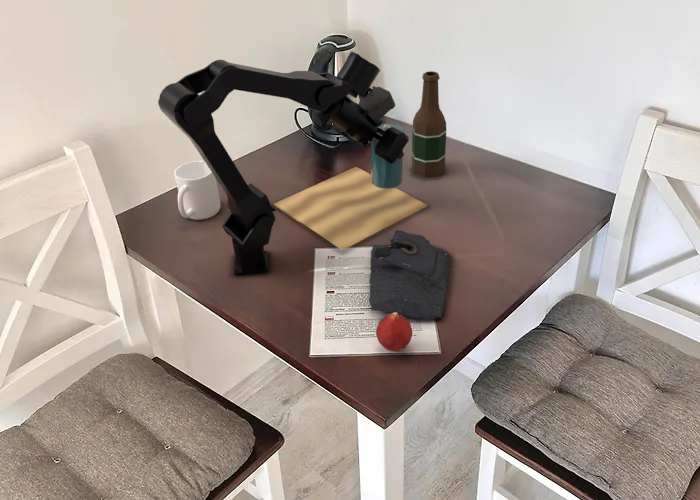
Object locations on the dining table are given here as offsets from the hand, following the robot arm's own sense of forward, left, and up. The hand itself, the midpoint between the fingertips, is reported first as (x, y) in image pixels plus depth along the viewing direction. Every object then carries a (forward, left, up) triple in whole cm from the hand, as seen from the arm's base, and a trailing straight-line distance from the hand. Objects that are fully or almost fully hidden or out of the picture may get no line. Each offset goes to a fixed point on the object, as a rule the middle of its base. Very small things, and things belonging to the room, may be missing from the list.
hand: (391, 150), depth 138 cm
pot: (-1, +1, -7) cm, 7 cm away
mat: (0, +9, -13) cm, 16 cm away
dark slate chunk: (-28, +2, -13) cm, 31 cm away
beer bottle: (+12, -10, -13) cm, 21 cm away
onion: (-45, +7, -13) cm, 47 cm away
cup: (+2, +43, -13) cm, 45 cm away
